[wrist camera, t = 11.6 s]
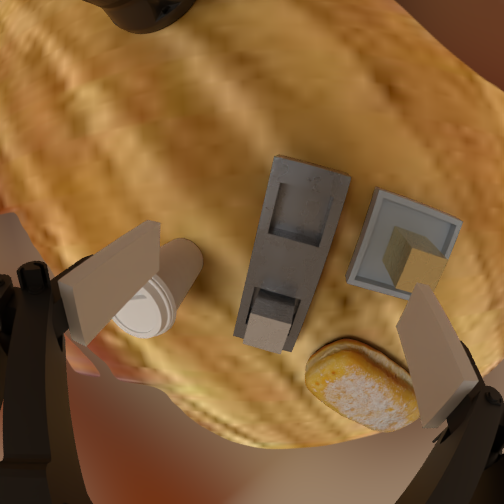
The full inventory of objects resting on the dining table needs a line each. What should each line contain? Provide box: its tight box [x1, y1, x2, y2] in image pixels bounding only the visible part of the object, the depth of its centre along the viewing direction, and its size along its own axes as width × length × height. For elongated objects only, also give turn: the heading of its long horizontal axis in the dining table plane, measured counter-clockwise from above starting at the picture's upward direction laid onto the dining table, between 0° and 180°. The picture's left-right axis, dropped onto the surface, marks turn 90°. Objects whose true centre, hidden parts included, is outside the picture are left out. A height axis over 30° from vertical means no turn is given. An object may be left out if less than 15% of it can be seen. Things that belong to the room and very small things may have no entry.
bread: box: [305, 339, 420, 432], centre depth 42 cm, size 13×26×8 cm, turn 56°
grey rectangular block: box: [243, 288, 296, 354], centre depth 39 cm, size 5×5×8 cm
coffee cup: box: [112, 238, 203, 338], centre depth 37 cm, size 10×10×15 cm
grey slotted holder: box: [233, 154, 351, 352], centre depth 38 cm, size 26×9×4 cm, turn 168°
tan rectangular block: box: [382, 226, 448, 293], centre depth 32 cm, size 5×5×8 cm
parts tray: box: [345, 187, 463, 300], centre depth 35 cm, size 13×13×2 cm
